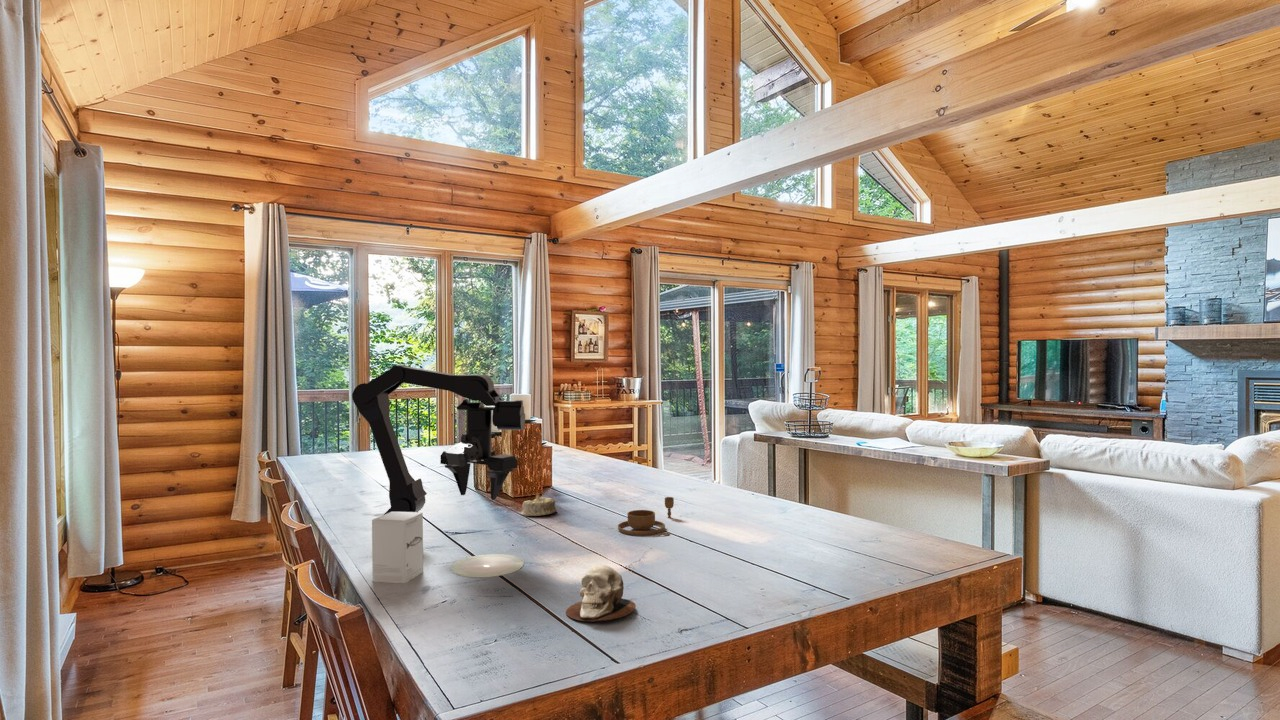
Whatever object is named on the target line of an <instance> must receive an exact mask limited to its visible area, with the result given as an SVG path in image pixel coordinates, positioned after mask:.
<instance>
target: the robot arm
mask: <svg viewBox="0 0 1280 720" xmlns="http://www.w3.org/2000/svg"><path fill="white" fill-rule="evenodd" d="M402 384H408V385H412V386H413V385H415V386H419V387H420V386H421V387H426V388H431V389H436V390H437V389H438V390H443V391H448V392H451V393H453V394H455V395H457V396H460V397H463V398H465V399H463V400H462V402H461V403H460V404H459V405H458V406H456V410H458V411H465V433H462V434H461V436H460V442H459V443H455V444H454V445H453V446H451V447H450V448H449V449H447V450H444V451H443V452H442V453H441V455H440V461H439V462H440V465H444V467H445V468H446V469H447V470H449V471H450V472H451V473H452V474H453V476H454V480H455V481H456V484H457V485H456V486H457V487H458V490H459V491H458V492H459V493H460V494H459V495H460V496H465V495H466V494H467V493H466V492H467V489H468V484H469V477H470V472H471V470H470V469H471V464H477V465H484V466H487V468H488V469H489V470H487V471H486V473H487V474H488V476H489V478H490V500H491V501H495V500H496V499H497V497H498V495H499V493H500V492H501V491H500V490H501V489H502V488H503V487H502V486H503V484H504V482H505V481H506V479H507V477H508V476H509V474H510V473H511V472H513V471H514V469H518V458H517V457H516V456H515V455H512V454H511V455H510V454H504V453H503V454H498V455H496V451H495V450H492V439H495V438H496V433H494V432H492V425H493V426H494V427H496V429H497V430H499V431H504V430H505V431H523V430H524V428H525V425H526V424H525V423H526V413H525V406H524V400H521V399H520V400H519V399H517V400H503V398H501V396H500V395H499V393H498V392H497V391H496V390H495V384H494V380H492V378H491V377H490V376H489V375H487V374H481V373H480V374H479V373H478V374H474V373H473V374H472V373H471V374H454V373H448V372H447V373H446V372H441V371H436V370H429V369H425V368H418V367H412V366H408V365H406V364H396V365H392V366H391V367H390V368H389V369H388V370H386V371H385V372H383V373H382V374H380V375H379V376H376V377H375V378H372V379H371V380H369V382H368V381H367V382H364V383H360V384H358V385H357V386H356V387H355V388H354V389H353V391H352V393H351V400H352V403H354V406H355V407H356V409H357V411H358V413H359V414H360V416H362V418H363V419H364V420H365V421H366V422H367V423H368V424H369V427H370V430H371V432H372V435H373V438H374V441H375V444H376V448H377V451H378V452H379V456H380V458H381V459H380V460H381V461H382V464H383V467H384V470H385V473H386V476H387V478H388V482H389V487H388V489H389V490H388V491H389V493H388V499H389V503H390V507H389V508H388V509H387V511H386V512H384V513H383V515H385V514H387V513H390V512H420V511H421V510H422V509H423V507H424V506H425V504H426V496H427V494H428V493H427V492H426V491H425V488H424V486H423V481H422V478H418V479H416V480H415V479H414V478H413V476H412V475H411V474H410V471H409V469H408V466H407V464H406V463H407V462H406V461H405V457H404V455H403V452H402V449H401V446H400V443H399V441H398V438H397V436H396V432H395V429H394V427H393V423H392V421H391V418H390V407H391V403H390V394H392V393H393V392H395V391H396V390H398V388H399V387H400V386H402ZM472 401H475V402H472ZM478 401H479V402H478Z"/></svg>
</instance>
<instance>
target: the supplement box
mask: <svg viewBox="0 0 1280 720" xmlns="http://www.w3.org/2000/svg"><path fill="white" fill-rule="evenodd" d="M384 514H385V513H384ZM384 514H382V515H380V516H378V517H376V518H373V519H371V542H372V543H371V546H372V547H371V550H372V551H371V557H372V558H371V559H372V567H371V569H372V574H371V575H372V582H375V583H389V584H391V583H394V584H407V583H408V582H409V581H411V580H413V579H414V578H417V577H418V576H419V575H421V574H422V573H424V528H423V526H424V525H423V523H424V522H423V521H424V519H423V515H424V514H423V512H420V511H418V512H390V513H387V514H385V515H384Z"/></svg>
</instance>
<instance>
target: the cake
mask: <svg viewBox="0 0 1280 720" xmlns="http://www.w3.org/2000/svg"><path fill="white" fill-rule="evenodd" d="M555 505H556V501H555V500H554V499H553V498H551V497H545V496H544V497H543V496H542V497H541V495H540V494H535V499H533V500H530V499H529V500H524V501H523V502H522V505H521V506H522V511H521V512H520V514H521V515H522V516H527V517H529V516H530V517H534V516H535V517H537V516H546V515H550V514H554V513H556V512H557V509H556V506H555Z"/></svg>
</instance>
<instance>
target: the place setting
mask: <svg viewBox="0 0 1280 720" xmlns="http://www.w3.org/2000/svg"><path fill="white" fill-rule="evenodd" d="M674 499H675V498H674V497H673V496H665V497H664V507H665V508H666V509H667V513H666V515H667V517H666V518H667V519H672V517H671V516H672V510H671V509H673V508H674V503H675V502H674ZM625 527H630V528H631V529H632V530H628V529H624V528H625ZM653 527H658V528H657V529H653V530H650V529H651V528H653ZM665 528H666V524H665V523H664V522H662V521H659V520H656V512H654V511H653V510H647V509H635V510H631V511H628V512H627V520H624V521H622V522H619V524H617V529H618V531H619V532H620V533H622V534H624V535H628V536H638V537H639V536H642V537H643V536H644V537H645V536H652V535H654V536H653V538H657V537H661V536H664V537H668V536H670V535H671V532H664V531H665ZM662 532H663V533H662Z"/></svg>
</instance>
